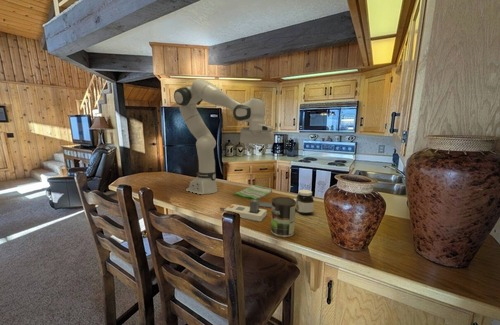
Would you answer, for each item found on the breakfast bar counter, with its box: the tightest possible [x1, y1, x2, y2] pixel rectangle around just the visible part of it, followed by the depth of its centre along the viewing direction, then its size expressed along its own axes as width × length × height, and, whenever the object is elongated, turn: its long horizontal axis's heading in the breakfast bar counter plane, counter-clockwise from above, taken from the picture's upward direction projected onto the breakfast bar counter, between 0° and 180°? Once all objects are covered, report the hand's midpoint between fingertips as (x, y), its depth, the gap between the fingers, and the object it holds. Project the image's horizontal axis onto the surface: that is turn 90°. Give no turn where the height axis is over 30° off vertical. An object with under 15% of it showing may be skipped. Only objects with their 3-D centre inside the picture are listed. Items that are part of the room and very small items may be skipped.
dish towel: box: [234, 184, 273, 201], centre depth 147 cm, size 17×23×4 cm
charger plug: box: [249, 199, 260, 214], centre depth 108 cm, size 4×4×8 cm
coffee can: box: [270, 196, 296, 238], centre depth 93 cm, size 10×10×14 cm
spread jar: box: [293, 189, 315, 216], centre depth 115 cm, size 12×11×12 cm
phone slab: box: [259, 201, 272, 209], centre depth 125 cm, size 14×7×1 cm, turn 74°
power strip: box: [219, 203, 268, 223], centre depth 111 cm, size 25×9×4 cm, turn 67°
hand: (256, 151), depth 124 cm, fingers open, 8 cm apart
